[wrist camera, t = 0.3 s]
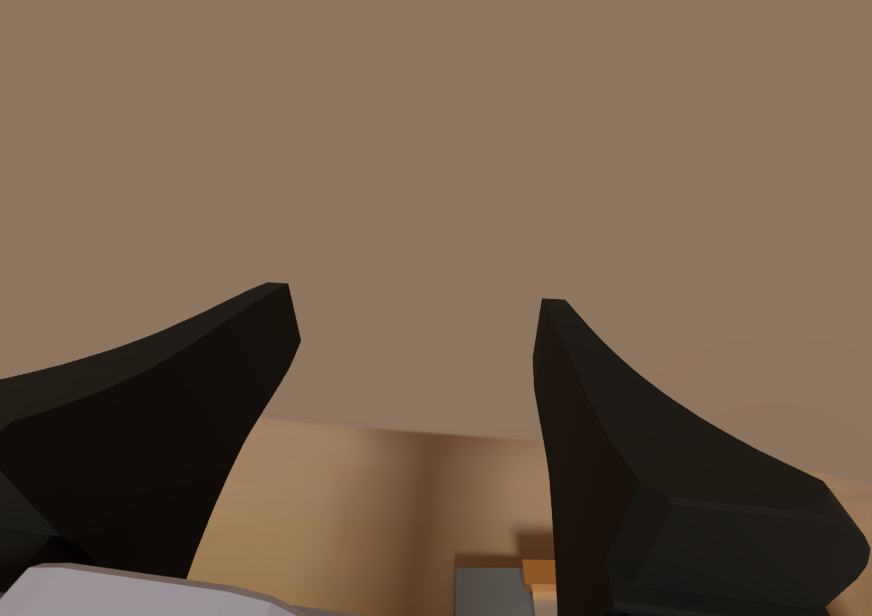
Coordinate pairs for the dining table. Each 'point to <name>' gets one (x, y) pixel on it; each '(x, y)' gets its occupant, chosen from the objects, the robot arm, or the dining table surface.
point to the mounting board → (491, 592)
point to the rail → (541, 585)
